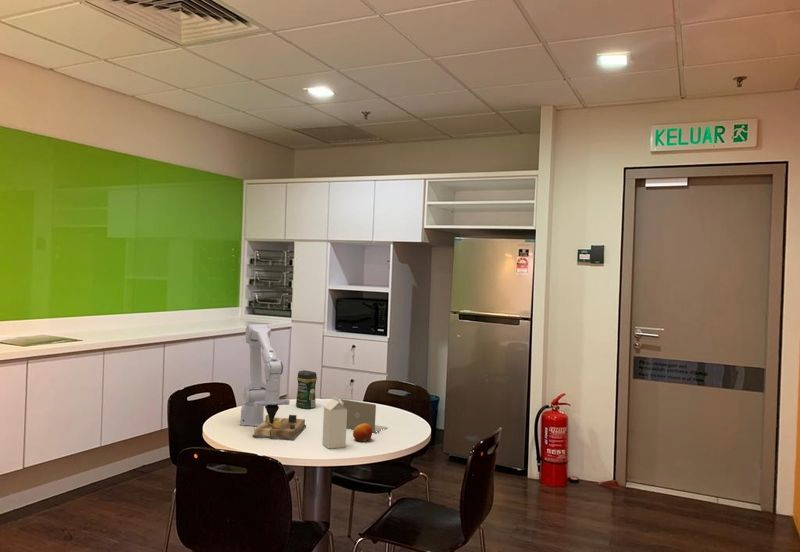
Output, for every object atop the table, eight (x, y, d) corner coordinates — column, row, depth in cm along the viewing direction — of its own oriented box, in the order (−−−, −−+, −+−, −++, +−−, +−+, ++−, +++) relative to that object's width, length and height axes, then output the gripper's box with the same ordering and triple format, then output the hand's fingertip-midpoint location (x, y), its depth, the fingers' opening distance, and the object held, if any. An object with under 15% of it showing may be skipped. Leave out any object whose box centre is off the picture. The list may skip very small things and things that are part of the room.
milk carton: (328, 449, 228) (330, 400, 228) (322, 444, 234) (324, 396, 234) (345, 447, 231) (347, 399, 231) (338, 442, 237) (341, 395, 238)
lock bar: (264, 420, 252) (264, 415, 252) (271, 420, 254) (272, 414, 254) (274, 428, 241) (274, 422, 241) (281, 427, 242) (281, 421, 243)
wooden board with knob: (252, 437, 239) (253, 421, 239) (268, 424, 261) (268, 410, 261) (293, 440, 238) (294, 424, 238) (305, 427, 260) (306, 412, 260)
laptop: (388, 429, 265) (389, 400, 265) (374, 435, 253) (375, 404, 254) (353, 423, 273) (355, 394, 273) (339, 428, 262) (340, 399, 262)
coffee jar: (293, 407, 299) (294, 370, 299) (304, 404, 305) (305, 368, 305) (307, 410, 293) (309, 372, 293) (318, 407, 300) (319, 371, 300)
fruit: (368, 441, 236) (361, 422, 239) (354, 448, 240) (347, 429, 242) (380, 437, 243) (372, 418, 246) (366, 444, 247) (358, 426, 249)
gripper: (258, 393, 237) (257, 426, 237) (292, 390, 244) (291, 423, 244) (253, 389, 243) (251, 422, 243) (286, 387, 250) (285, 420, 250)
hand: (271, 423), depth 244 cm, fingers closed, pressing on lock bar
